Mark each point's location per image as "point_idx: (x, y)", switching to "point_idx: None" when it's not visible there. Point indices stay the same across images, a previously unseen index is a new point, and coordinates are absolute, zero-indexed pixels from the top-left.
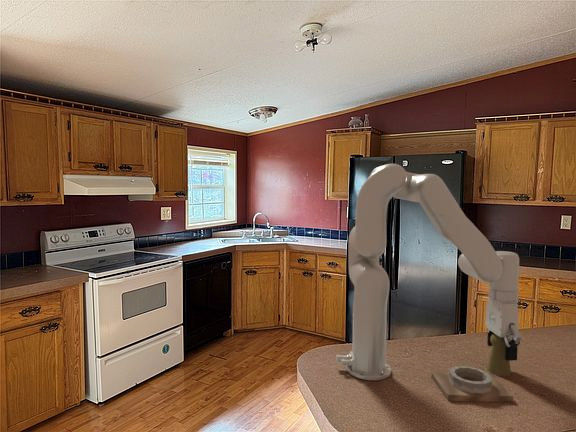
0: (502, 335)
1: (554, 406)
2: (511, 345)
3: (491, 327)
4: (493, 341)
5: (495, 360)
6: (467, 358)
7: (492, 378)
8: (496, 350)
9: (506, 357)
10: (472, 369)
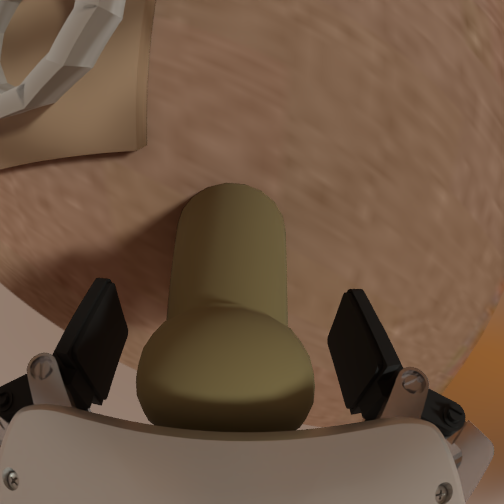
0: (10, 422)
1: (18, 273)
2: (25, 375)
3: (254, 494)
4: (188, 334)
5: (192, 237)
6: (392, 159)
7: (84, 143)
8: (186, 289)
9: (92, 293)
10: (61, 32)
